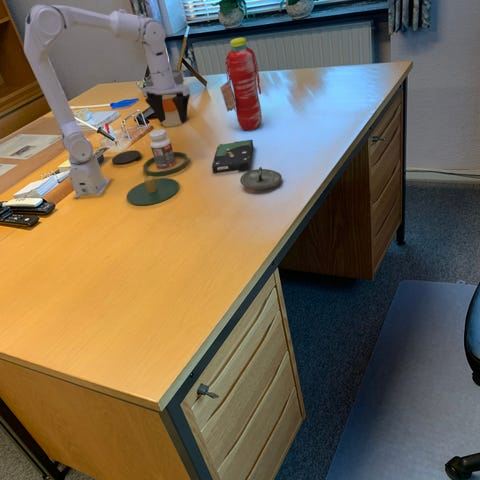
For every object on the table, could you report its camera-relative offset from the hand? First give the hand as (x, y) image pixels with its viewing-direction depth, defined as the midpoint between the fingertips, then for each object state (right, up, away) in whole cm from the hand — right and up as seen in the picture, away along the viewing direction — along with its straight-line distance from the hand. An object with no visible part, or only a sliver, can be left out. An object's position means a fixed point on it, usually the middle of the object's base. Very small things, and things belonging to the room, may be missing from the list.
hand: (173, 121), depth 138 cm
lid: (+25, -23, -16) cm, 37 cm away
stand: (-16, -7, +11) cm, 21 cm away
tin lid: (-4, -23, -10) cm, 25 cm away
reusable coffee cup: (-4, +12, +31) cm, 34 cm away
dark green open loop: (-2, -13, +2) cm, 13 cm away
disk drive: (+17, -13, -3) cm, 22 cm away
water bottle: (+21, +4, +15) cm, 26 cm away
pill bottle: (-2, -13, +2) cm, 13 cm away
